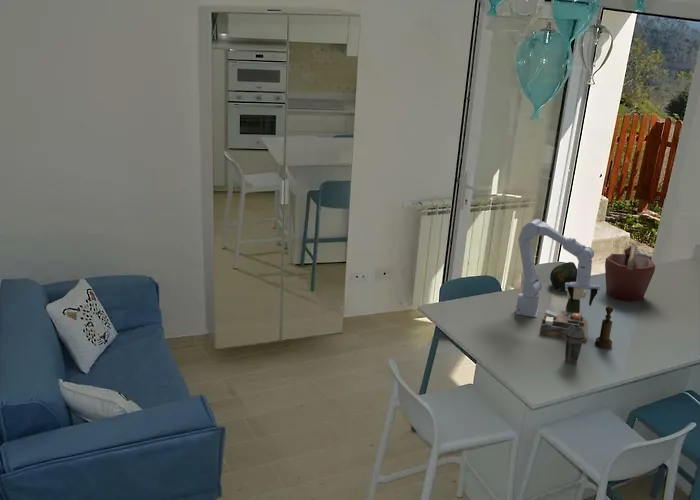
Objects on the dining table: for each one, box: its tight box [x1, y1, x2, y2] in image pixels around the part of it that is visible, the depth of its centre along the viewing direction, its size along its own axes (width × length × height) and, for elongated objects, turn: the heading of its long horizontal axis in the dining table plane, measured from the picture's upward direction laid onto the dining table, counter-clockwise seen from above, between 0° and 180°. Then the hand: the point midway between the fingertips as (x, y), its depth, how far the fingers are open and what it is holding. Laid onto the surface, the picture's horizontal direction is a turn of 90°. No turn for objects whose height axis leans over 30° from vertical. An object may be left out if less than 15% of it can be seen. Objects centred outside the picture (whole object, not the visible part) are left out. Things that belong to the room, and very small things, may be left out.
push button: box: [571, 312, 582, 320], centre depth 307 cm, size 4×4×2 cm
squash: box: [549, 261, 578, 291], centre depth 350 cm, size 14×15×15 cm
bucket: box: [604, 245, 656, 303], centre depth 341 cm, size 24×22×25 cm
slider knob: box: [545, 316, 554, 326], centre depth 300 cm, size 3×5×4 cm, turn 160°
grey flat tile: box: [544, 309, 558, 318], centre depth 311 cm, size 5×4×1 cm
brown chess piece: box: [594, 304, 614, 350], centre depth 287 cm, size 7×6×18 cm
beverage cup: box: [564, 314, 585, 365], centre depth 272 cm, size 7×7×20 cm
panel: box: [539, 312, 589, 343], centre depth 303 cm, size 19×20×4 cm
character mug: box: [564, 282, 587, 312], centre depth 323 cm, size 11×7×13 cm, turn 38°
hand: (580, 304), depth 304 cm, fingers open, 7 cm apart
